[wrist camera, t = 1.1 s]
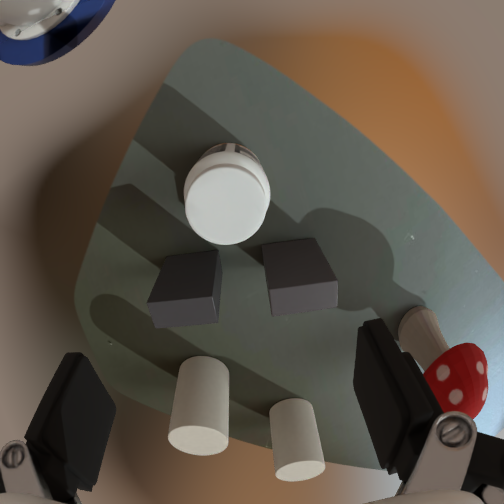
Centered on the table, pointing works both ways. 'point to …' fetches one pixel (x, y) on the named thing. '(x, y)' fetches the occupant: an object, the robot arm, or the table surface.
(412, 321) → the decorative mushroom
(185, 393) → the white cylinder
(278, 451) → the white cylinder
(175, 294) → the dark grey block
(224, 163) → the pill bottle
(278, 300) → the dark grey rectangular block
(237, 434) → the table surface
